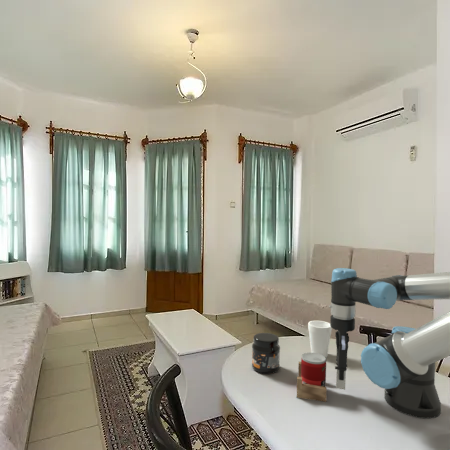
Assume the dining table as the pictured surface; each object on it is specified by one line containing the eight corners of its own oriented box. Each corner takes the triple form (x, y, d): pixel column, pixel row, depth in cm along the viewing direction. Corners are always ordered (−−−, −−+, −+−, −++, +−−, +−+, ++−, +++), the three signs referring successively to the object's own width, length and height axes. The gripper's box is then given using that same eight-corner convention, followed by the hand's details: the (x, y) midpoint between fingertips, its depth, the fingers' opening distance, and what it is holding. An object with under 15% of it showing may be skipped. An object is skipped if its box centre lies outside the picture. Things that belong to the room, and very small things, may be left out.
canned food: (326, 397, 104) (327, 363, 104) (301, 394, 106) (301, 360, 105) (324, 385, 112) (325, 353, 111) (300, 382, 113) (301, 351, 113)
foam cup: (303, 351, 140) (304, 321, 139) (322, 349, 142) (322, 319, 142) (316, 361, 131) (316, 328, 130) (335, 358, 133) (336, 326, 133)
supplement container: (248, 363, 128) (248, 333, 127) (273, 361, 130) (273, 331, 130) (256, 376, 117) (257, 343, 117) (284, 373, 120) (284, 341, 120)
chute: (324, 381, 114) (325, 364, 114) (326, 401, 101) (326, 382, 101) (298, 378, 116) (298, 361, 116) (296, 397, 104) (297, 378, 104)
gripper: (329, 309, 113) (327, 376, 114) (331, 321, 101) (329, 396, 101) (352, 311, 111) (350, 379, 112) (357, 323, 99) (355, 400, 99)
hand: (340, 387), depth 107 cm, fingers closed
